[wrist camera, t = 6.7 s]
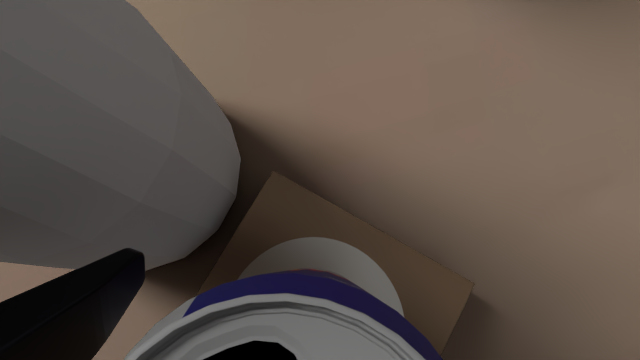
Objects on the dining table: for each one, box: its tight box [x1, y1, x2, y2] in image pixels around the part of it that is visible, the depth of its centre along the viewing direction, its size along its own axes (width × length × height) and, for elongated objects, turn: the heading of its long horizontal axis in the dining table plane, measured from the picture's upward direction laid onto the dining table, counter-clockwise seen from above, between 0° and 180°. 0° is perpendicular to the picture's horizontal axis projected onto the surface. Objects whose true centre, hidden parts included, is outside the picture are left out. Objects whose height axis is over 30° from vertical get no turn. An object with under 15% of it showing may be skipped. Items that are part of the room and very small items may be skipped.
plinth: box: [195, 170, 475, 356], centre depth 17 cm, size 10×10×3 cm
